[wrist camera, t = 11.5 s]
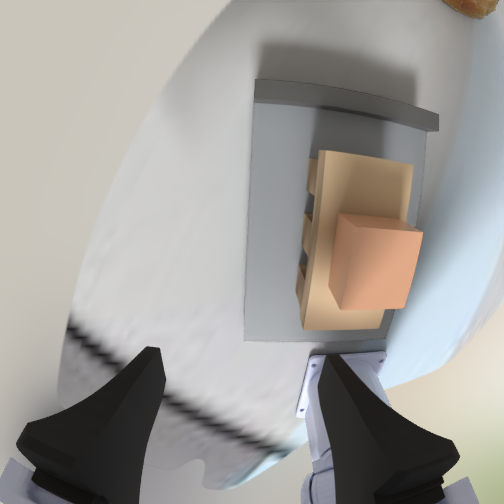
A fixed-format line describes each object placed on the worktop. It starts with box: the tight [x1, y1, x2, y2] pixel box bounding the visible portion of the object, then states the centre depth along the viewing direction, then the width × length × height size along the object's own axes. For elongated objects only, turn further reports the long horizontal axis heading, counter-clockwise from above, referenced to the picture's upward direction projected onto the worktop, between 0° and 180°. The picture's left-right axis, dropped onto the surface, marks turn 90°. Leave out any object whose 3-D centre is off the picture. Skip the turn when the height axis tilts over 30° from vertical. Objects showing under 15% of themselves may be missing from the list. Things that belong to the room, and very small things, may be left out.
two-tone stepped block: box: [295, 150, 414, 330], centre depth 16 cm, size 10×5×4 cm, turn 177°
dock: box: [244, 79, 439, 342], centre depth 18 cm, size 18×12×4 cm, turn 177°
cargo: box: [328, 213, 423, 310], centre depth 13 cm, size 4×4×2 cm
